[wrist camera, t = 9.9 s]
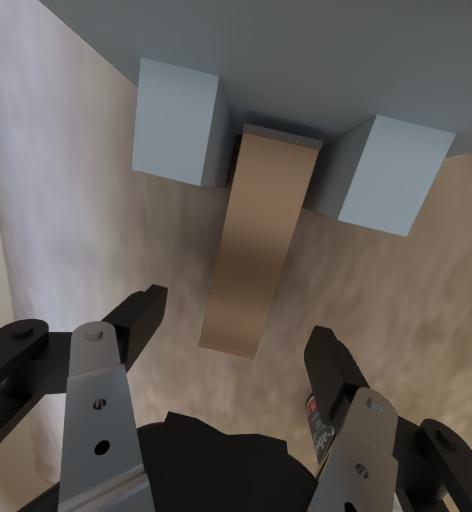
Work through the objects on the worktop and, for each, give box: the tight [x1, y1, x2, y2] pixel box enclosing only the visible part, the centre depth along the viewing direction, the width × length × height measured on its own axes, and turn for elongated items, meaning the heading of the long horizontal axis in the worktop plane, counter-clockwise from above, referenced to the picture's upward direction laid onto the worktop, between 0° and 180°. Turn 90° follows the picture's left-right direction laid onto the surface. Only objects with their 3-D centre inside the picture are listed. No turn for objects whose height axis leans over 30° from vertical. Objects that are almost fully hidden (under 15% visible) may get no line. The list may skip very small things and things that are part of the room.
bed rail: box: [199, 123, 323, 359], centre depth 16 cm, size 14×4×6 cm, turn 167°
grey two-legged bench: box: [39, 0, 472, 237], centre depth 10 cm, size 6×16×15 cm, turn 77°
